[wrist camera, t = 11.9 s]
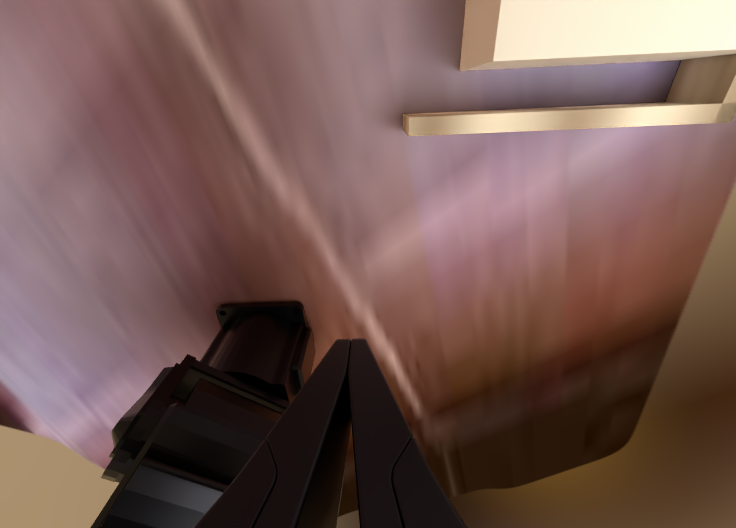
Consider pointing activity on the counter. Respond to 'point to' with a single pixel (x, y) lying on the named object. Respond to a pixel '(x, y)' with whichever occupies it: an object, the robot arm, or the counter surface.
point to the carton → (593, 32)
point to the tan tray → (606, 107)
